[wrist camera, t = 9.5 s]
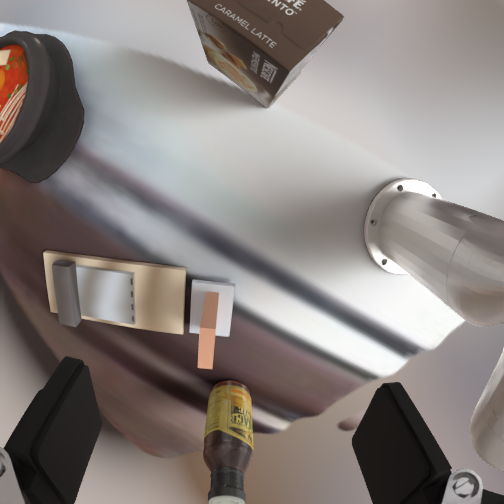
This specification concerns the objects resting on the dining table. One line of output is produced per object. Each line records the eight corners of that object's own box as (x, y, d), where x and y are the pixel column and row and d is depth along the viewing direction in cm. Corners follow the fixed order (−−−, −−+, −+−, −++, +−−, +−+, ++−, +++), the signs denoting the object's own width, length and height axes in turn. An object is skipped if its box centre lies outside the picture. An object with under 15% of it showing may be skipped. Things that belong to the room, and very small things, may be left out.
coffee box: (303, 71, 31) (351, 19, 15) (267, 110, 32) (293, 76, 17) (241, 25, 28) (245, -52, 13) (204, 62, 30) (181, 0, 14)
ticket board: (186, 267, 37) (181, 279, 33) (183, 330, 40) (179, 346, 36) (46, 250, 35) (32, 259, 32) (54, 308, 38) (41, 321, 34)
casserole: (123, 102, 31) (93, 91, 23) (35, 212, 34) (-2, 228, 26) (32, 8, 24) (1, -10, 16) (-37, 106, 27) (-72, 105, 19)
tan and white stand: (234, 283, 37) (235, 321, 29) (229, 333, 39) (228, 377, 31) (192, 279, 36) (181, 316, 28) (190, 329, 39) (180, 372, 30)
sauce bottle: (257, 397, 44) (268, 509, 25) (221, 410, 45) (220, 517, 26) (237, 370, 42) (241, 489, 23) (200, 384, 43) (188, 498, 24)
